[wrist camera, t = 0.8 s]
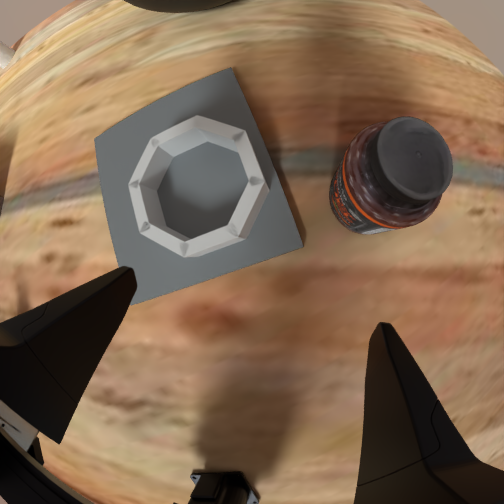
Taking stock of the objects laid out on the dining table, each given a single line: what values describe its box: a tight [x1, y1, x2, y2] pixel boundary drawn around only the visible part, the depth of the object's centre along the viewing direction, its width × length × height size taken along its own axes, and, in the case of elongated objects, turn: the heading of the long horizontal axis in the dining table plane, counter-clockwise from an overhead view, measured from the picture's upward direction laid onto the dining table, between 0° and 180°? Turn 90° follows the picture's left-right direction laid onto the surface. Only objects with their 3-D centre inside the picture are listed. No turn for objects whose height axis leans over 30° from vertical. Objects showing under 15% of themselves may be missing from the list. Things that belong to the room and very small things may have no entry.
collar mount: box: [94, 67, 304, 305], centre depth 21 cm, size 18×16×4 cm
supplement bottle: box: [329, 117, 453, 234], centre depth 15 cm, size 6×6×11 cm
